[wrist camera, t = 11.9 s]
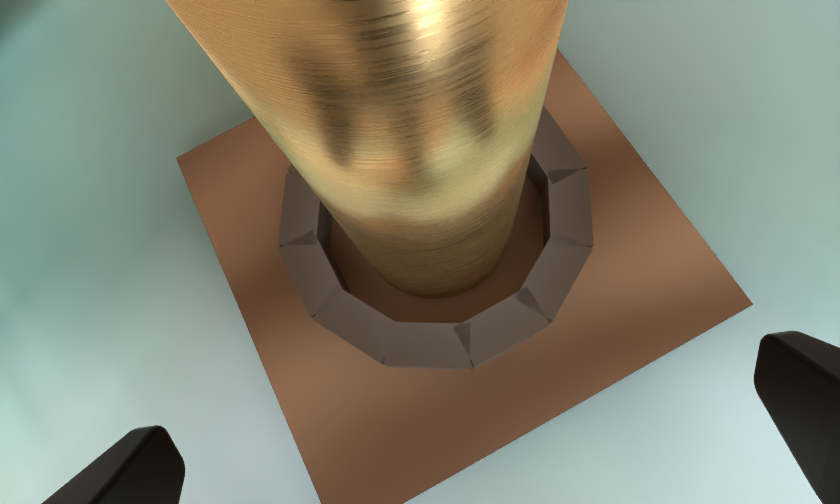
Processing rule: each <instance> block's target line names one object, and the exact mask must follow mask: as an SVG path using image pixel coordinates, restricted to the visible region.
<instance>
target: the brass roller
mask: <svg viewBox="0 0 840 504" xmlns="http://www.w3.org/2000/svg"><path fill="white" fill-rule="evenodd" d="M165 1H166V2H167V3H168V4H169V6H170V7H171V8H172V10H173V11H174V12H175V13H176V15H177V16H178V17H179V19H180V20H181V21H182V23H183V24H184V25H185V26H186V28H187V29H188V30H189V32H190V33H191V34H192V35H193V37H194V38H195V39H196V41H197V42H198V43H199V44H200V46H201V47H202V48H203V50H204V51H205V52H206V53H207V55H208V56H209V57H210V59H211V60H212V61H213V62H214V64H215V65H216V66H217V68H218V69H219V70H220V71H221V73H222V74H223V75H224V77H225V78H226V79H227V81H228V82H229V83H230V84H231V86H232V87H233V88H234V90H235V91H236V92H237V93H238V95H239V96H240V97H241V99H242V100H243V101H244V102H245V104H246V105H247V106H248V108H249V109H250V110H251V111H252V113H253V114H254V115H255V117H256V118H257V119H258V120H259V122H260V123H261V124H262V126H263V127H264V128H265V130H266V131H267V132H268V133H269V135H270V136H271V137H272V139H273V140H274V141H275V142H276V144H277V145H278V146H279V148H280V149H281V150H282V151H283V153H284V154H285V155H286V157H287V158H288V159H289V160H290V162H291V163H292V164H293V166H294V167H295V168H296V169H297V171H298V172H299V173H300V175H301V176H302V177H303V178H304V180H305V181H306V182H307V184H308V185H309V186H310V188H311V189H312V190H313V191H314V193H315V194H316V195H317V197H318V198H319V199H320V200H321V202H322V203H323V204H324V206H325V207H326V208H327V209H328V211H329V212H330V213H331V215H332V216H333V217H334V218H335V220H336V221H337V222H338V224H339V225H340V226H341V227H342V229H343V230H344V231H345V233H346V234H347V235H348V237H349V238H350V239H351V240H352V242H353V243H354V244H355V246H356V247H357V248H358V249H359V251H360V252H361V253H362V255H363V256H364V257H365V258H366V260H367V261H368V262H369V264H370V265H371V266H372V267H373V269H374V270H375V271H376V272H377V273H378V275H379V276H380V277H381V278H382V279H383V280H385V281H386V282H387V283H388V284H390V285H391V286H393V287H394V288H396V289H398V290H400V291H402V292H404V293H406V294H409V295H412V296H416V297H422V298H433V299H436V298H447V297H452V296H456V295H459V294H462V293H465V292H467V291H469V290H471V289H473V288H475V287H476V286H477V285H479V284H480V283H482V282H483V281H484V280H485V279H487V278H488V277H489V276H490V275H491V274H492V273H493V271H494V270H495V269H496V268H497V267H498V265H499V264H500V262H501V260H502V259H503V257H504V255H505V252H506V250H507V247H508V244H509V240H510V236H511V232H512V228H513V224H514V220H515V216H516V212H517V208H518V204H519V200H520V196H521V192H522V188H523V184H524V180H525V176H526V171H527V167H528V163H529V159H530V155H531V151H532V147H533V143H534V139H535V135H536V131H537V127H538V123H539V119H540V115H541V111H542V107H543V103H544V99H545V94H546V90H547V86H548V82H549V78H550V74H551V70H552V66H553V62H554V58H555V54H556V50H557V46H558V42H559V38H560V34H561V30H562V26H563V21H564V17H565V13H566V9H567V5H568V1H569V0H165Z"/></svg>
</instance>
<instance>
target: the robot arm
mask: <svg viewBox="0 0 840 504" xmlns="http://www.w3.org/2000/svg"><path fill="white" fill-rule="evenodd" d="M754 385H755V389H756V391H757V394H758V396H759V397H760V399H761V401H762V403H763V404H764V406H765V408H766V409H767V411H768V413H769V415H770V416H771V418H772V420H773V422H774V423H775V425H776V427H777V428H778V430H779V432H780V434H781V435H782V437H783V439H784V441H785V442H786V444H787V446H788V447H789V449H790V451H791V453H792V454H793V456H794V458H795V460H796V461H797V463H798V465H799V466H800V468H801V470H802V472H803V473H804V475H805V477H806V478H807V480H808V482H809V483H810V485H811V487H812V488H813V490H814V491H815V493H816V495H817V496H818V497H819V499H820V500H821V502H822V503H823V504H840V348H839V347H836V346H834V345H831V344H829V343H826V342H824V341H821V340H819V339H816V338H814V337H811V336H809V335H806V334H804V333H801V332H798V331H785V332H778V333H772V334H767V335H765V336H764V337H763V338H762V339H761V341H760V345H759V351H758V356H757V362H756V367H755V373H754ZM184 477H185V465H184V461H183V458H182V456H181V455H180V453H179V451H178V449H177V448H176V446H175V444H174V442H173V441H172V439H171V437H170V435H169V434H168V432H167V430H166V429H165V428H163V427H162V426H158V425H155V426H148V427H142V428H137V429H134V430H132V431H130V432H129V433H128V434H126V435H125V436H124V437H123V438H121V439H120V440H119V441H118V442H117V443H115V444H114V445H113V446H112V447H110V448H109V449H108V450H107V451H105V452H104V453H103V454H102V455H101V456H99V457H98V458H97V459H96V460H94V461H93V462H92V463H91V464H90V465H88V466H87V467H86V468H85V469H83V470H82V471H81V472H80V473H79V474H77V475H76V476H75V477H74V478H72V479H71V480H70V481H69V482H68V483H66V484H65V485H64V486H63V487H61V488H60V489H59V490H58V491H57V492H55V493H54V494H53V495H52V496H50V497H49V498H48V499H47V500H45V501H44V502H43V503H42V504H179V500H180V495H181V491H182V486H183V482H184Z"/></svg>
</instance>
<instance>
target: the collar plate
mask: <svg viewBox="0 0 840 504" xmlns="http://www.w3.org/2000/svg"><path fill="white" fill-rule="evenodd" d="M176 159H177V161H178V164H179V166H180V168H181V171H182V173H183V176H184V178H185V180H186V183H187V185H188V187H189V190H190V192H191V195H192V197H193V199H194V202H195V204H196V207H197V209H198V211H199V214H200V216H201V218H202V221H203V223H204V226H205V228H206V230H207V233H208V235H209V237H210V240H211V242H212V245H213V247H214V249H215V252H216V254H217V256H218V259H219V261H220V264H221V266H222V268H223V271H224V273H225V276H226V278H227V280H228V283H229V285H230V287H231V290H232V292H233V295H234V297H235V299H236V302H237V304H238V306H239V309H240V311H241V314H242V316H243V318H244V321H245V323H246V325H247V328H248V330H249V333H250V335H251V337H252V340H253V342H254V345H255V347H256V349H257V352H258V354H259V356H260V359H261V361H262V364H263V366H264V368H265V371H266V373H267V375H268V378H269V380H270V383H271V385H272V387H273V390H274V392H275V394H276V397H277V399H278V402H279V404H280V406H281V409H282V411H283V414H284V416H285V418H286V421H287V423H288V425H289V428H290V430H291V433H292V435H293V437H294V440H295V442H296V444H297V447H298V449H299V452H300V454H301V456H302V459H303V461H304V463H305V466H306V468H307V471H308V473H309V475H310V478H311V480H312V483H313V485H314V487H315V490H316V492H317V494H318V497H319V499H320V502H321V504H403V503H405V502H407V501H408V500H410V499H412V498H414V497H415V496H417V495H419V494H421V493H422V492H424V491H426V490H428V489H429V488H431V487H433V486H435V485H436V484H438V483H440V482H442V481H444V480H445V479H447V478H449V477H451V476H452V475H454V474H456V473H458V472H459V471H461V470H463V469H465V468H466V467H468V466H470V465H472V464H473V463H475V462H477V461H479V460H480V459H482V458H484V457H486V456H487V455H489V454H491V453H493V452H495V451H496V450H498V449H500V448H502V447H503V446H505V445H507V444H509V443H510V442H512V441H514V440H516V439H517V438H519V437H521V436H523V435H524V434H526V433H528V432H530V431H531V430H533V429H535V428H537V427H538V426H540V425H542V424H544V423H545V422H547V421H549V420H551V419H553V418H554V417H556V416H558V415H560V414H561V413H563V412H565V411H567V410H568V409H570V408H572V407H574V406H575V405H577V404H579V403H581V402H582V401H584V400H586V399H588V398H589V397H591V396H593V395H595V394H596V393H598V392H600V391H602V390H604V389H605V388H607V387H609V386H611V385H612V384H614V383H616V382H618V381H619V380H621V379H623V378H625V377H626V376H628V375H630V374H632V373H633V372H635V371H637V370H639V369H640V368H642V367H644V366H646V365H647V364H649V363H651V362H653V361H655V360H656V359H658V358H660V357H662V356H663V355H665V354H667V353H669V352H670V351H672V350H674V349H676V348H677V347H679V346H681V345H683V344H684V343H686V342H688V341H690V340H691V339H693V338H695V337H697V336H698V335H700V334H702V333H704V332H705V331H707V330H709V329H711V328H713V327H714V326H716V325H718V324H720V323H721V322H723V321H725V320H727V319H728V318H730V317H732V316H734V315H735V314H737V313H739V312H741V311H742V310H744V309H746V308H748V307H749V306H751V305H753V303H752V302H751V301H750V300H749V298H748V297H747V296H746V294H745V293H744V292H743V290H742V289H741V288H740V286H739V285H738V284H737V283H736V281H735V280H734V279H733V277H732V276H731V275H730V273H729V272H728V271H727V269H726V268H725V267H724V266H723V264H722V263H721V262H720V260H719V259H718V258H717V256H716V255H715V254H714V252H713V251H712V250H711V249H710V247H709V246H708V245H707V243H706V242H705V241H704V239H703V238H702V237H701V235H700V234H699V233H698V232H697V230H696V229H695V228H694V226H693V225H692V224H691V222H690V221H689V220H688V218H687V217H686V216H685V215H684V213H683V212H682V211H681V209H680V208H679V207H678V205H677V204H676V203H675V201H674V200H673V199H672V198H671V196H670V195H669V194H668V192H667V191H666V190H665V188H664V187H663V186H662V184H661V183H660V182H659V181H658V179H657V178H656V177H655V175H654V174H653V173H652V171H651V170H650V169H649V167H648V166H647V165H646V164H645V162H644V161H643V160H642V158H641V157H640V156H639V154H638V153H637V152H636V150H635V149H634V148H633V147H632V145H631V144H630V143H629V141H628V140H627V139H626V137H625V136H624V135H623V133H622V132H621V131H620V130H619V128H618V127H617V126H616V124H615V123H614V122H613V120H612V119H611V118H610V116H609V115H608V114H607V113H606V111H605V110H604V109H603V107H602V106H601V105H600V103H599V102H598V101H597V99H596V98H595V97H594V96H593V94H592V93H591V92H590V90H589V89H588V88H587V86H586V85H585V84H584V82H583V81H582V80H581V79H580V77H579V76H578V75H577V73H576V72H575V71H574V69H573V68H572V67H571V65H570V64H569V63H568V62H567V60H566V59H565V58H564V56H563V55H562V54H561V52H560V51H559V50H558V48H557V50H556V54H555V58H554V62H553V66H552V70H551V74H550V78H549V82H548V86H547V90H546V94H545V99H544V103H543V107H542V111H541V115H540V119H539V123H538V127H537V131H536V135H535V139H534V143H533V147H532V151H531V155H530V159H529V163H528V167H527V171H526V176H525V180H524V184H523V188H522V192H521V196H520V200H519V204H518V208H517V212H516V216H515V220H514V224H513V228H512V232H511V236H510V240H509V244H508V247H507V250H506V252H505V255H504V257H503V259H502V260H501V262H500V264H499V265H498V267H497V268H496V269H495V270H494V271H493V273H492V274H491V275H490V276H489V277H488V278H487V279H485V280H484V281H483V282H482V283H480V284H479V285H477V286H476V287H475V288H473V289H471V290H469V291H467V292H465V293H462V294H459V295H456V296H452V297H447V298H436V299H433V298H422V297H416V296H412V295H409V294H406V293H404V292H402V291H400V290H398V289H396V288H394V287H393V286H391V285H390V284H388V283H387V282H386V281H385V280H383V279H382V278H381V277H380V276H379V275H378V273H377V272H376V271H375V270H374V269H373V267H372V266H371V265H370V264H369V262H368V261H367V260H366V258H365V257H364V256H363V255H362V253H361V252H360V251H359V249H358V248H357V247H356V246H355V244H354V243H353V242H352V240H351V239H350V238H349V237H348V235H347V234H346V233H345V231H344V230H343V229H342V227H341V226H340V225H339V224H338V222H337V221H336V220H335V218H334V217H333V216H332V215H331V213H330V212H329V211H328V209H327V208H326V207H325V206H324V204H323V203H322V202H321V200H320V199H319V198H318V197H317V195H316V194H315V193H314V191H313V190H312V189H311V188H310V186H309V185H308V184H307V182H306V181H305V180H304V178H303V177H302V176H301V175H300V173H299V172H298V171H297V169H296V168H295V167H294V166H293V164H292V163H291V162H290V160H289V159H288V158H287V157H286V155H285V154H284V153H283V151H282V150H281V149H280V148H279V146H278V145H277V144H276V142H275V141H274V140H273V139H272V137H271V136H270V135H269V133H268V132H267V131H266V130H265V128H264V127H263V126H262V124H261V123H260V122H259V120H258V119H257V118H256V117H254V118H252V119H250V120H248V121H246V122H244V123H242V124H240V125H238V126H237V127H235V128H233V129H231V130H229V131H227V132H225V133H223V134H221V135H219V136H217V137H215V138H214V139H212V140H210V141H208V142H206V143H204V144H202V145H200V146H198V147H196V148H194V149H192V150H191V151H189V152H187V153H185V154H183V155H181V156H179V157H177V158H176Z"/></svg>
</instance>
